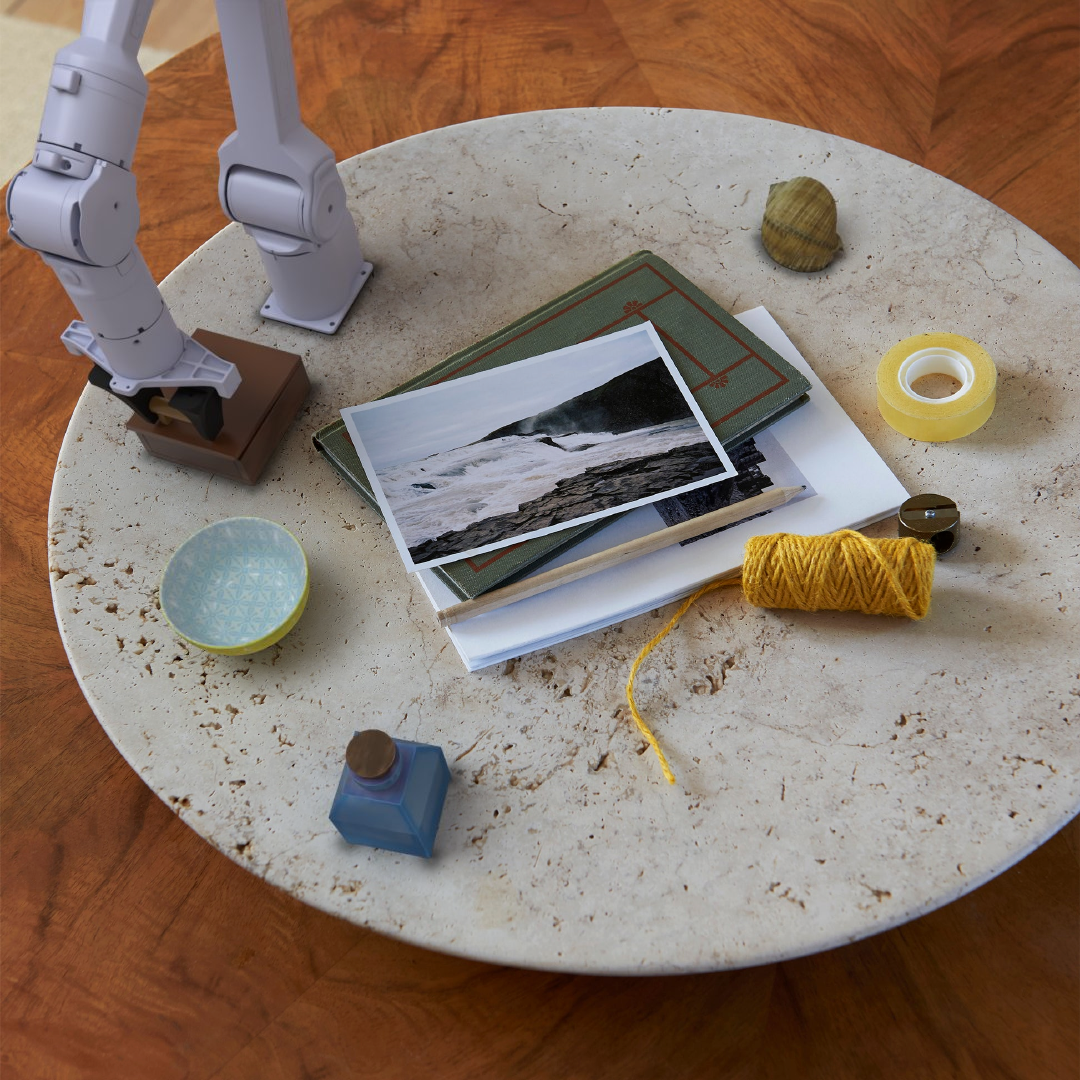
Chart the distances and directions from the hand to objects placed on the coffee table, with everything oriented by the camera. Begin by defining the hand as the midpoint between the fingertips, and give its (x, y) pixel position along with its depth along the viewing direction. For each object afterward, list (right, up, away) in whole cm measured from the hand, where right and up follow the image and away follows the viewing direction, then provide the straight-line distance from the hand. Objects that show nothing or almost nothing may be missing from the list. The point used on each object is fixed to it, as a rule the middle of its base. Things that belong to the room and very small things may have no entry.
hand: (185, 423), depth 88 cm
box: (+2, +1, +7) cm, 7 cm away
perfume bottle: (+20, -29, -12) cm, 37 cm away
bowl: (+7, -16, -3) cm, 18 cm away
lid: (+2, +3, +3) cm, 5 cm away
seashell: (+56, +20, +16) cm, 61 cm away
